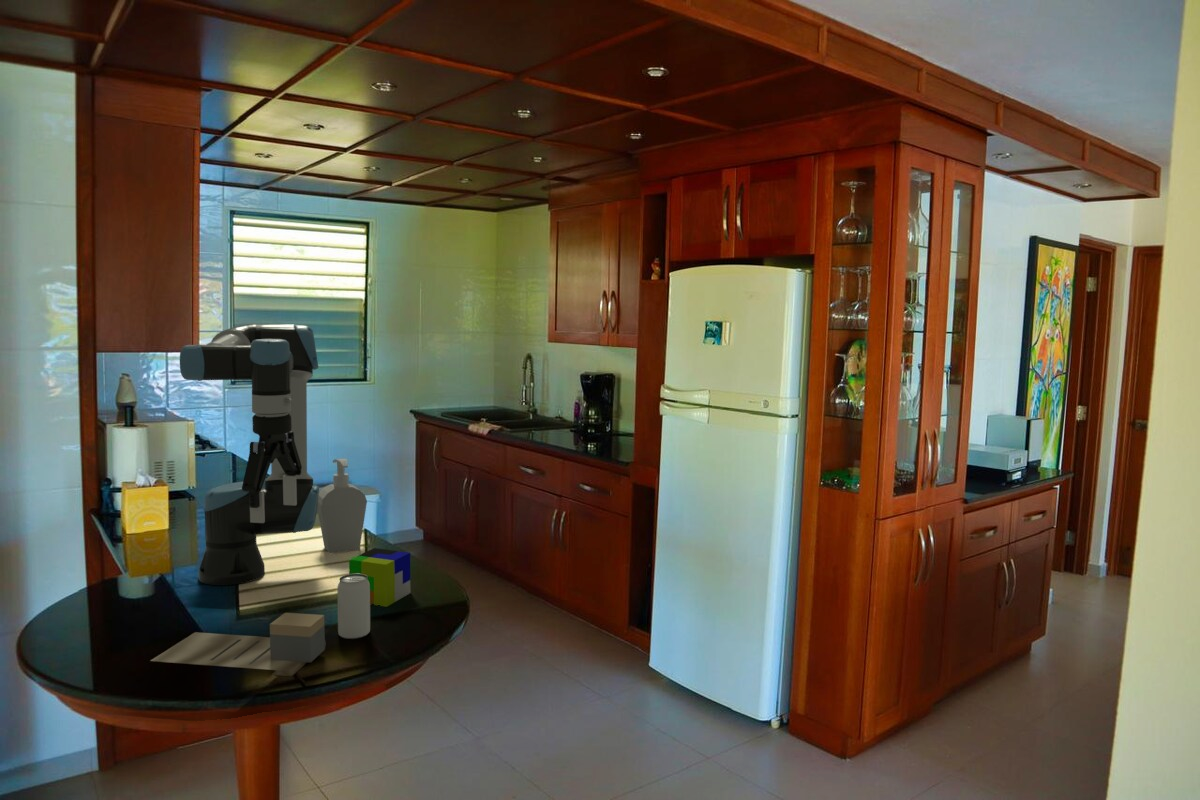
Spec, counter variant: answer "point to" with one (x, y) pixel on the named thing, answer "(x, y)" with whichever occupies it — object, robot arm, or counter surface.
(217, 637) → the board
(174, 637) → the counter surface
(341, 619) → the can
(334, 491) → the soap bottle
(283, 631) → the block
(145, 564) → the counter surface
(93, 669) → the counter surface
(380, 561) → the puzzle toy
